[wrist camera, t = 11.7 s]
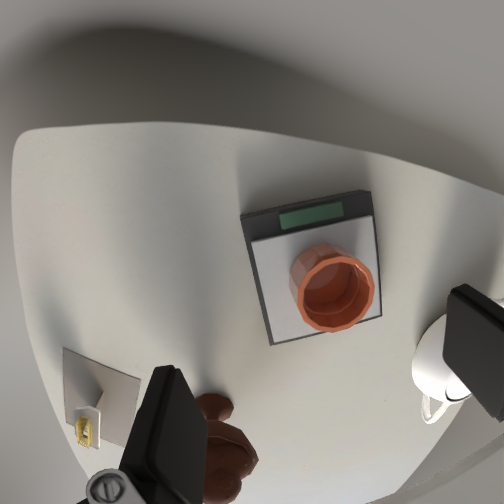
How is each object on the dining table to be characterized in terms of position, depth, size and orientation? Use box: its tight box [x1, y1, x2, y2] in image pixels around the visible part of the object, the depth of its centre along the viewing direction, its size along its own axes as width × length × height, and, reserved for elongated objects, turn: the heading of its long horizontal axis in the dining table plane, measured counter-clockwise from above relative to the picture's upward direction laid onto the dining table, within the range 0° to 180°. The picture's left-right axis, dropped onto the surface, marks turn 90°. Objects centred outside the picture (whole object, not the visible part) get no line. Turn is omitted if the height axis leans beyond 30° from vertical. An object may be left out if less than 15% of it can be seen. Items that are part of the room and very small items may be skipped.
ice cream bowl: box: [195, 394, 259, 504], centre depth 29 cm, size 11×11×15 cm
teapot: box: [412, 298, 504, 423], centre depth 30 cm, size 22×14×11 cm, turn 163°
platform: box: [63, 348, 141, 449], centre depth 33 cm, size 12×18×7 cm, turn 160°
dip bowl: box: [289, 243, 375, 333], centre depth 26 cm, size 7×7×5 cm
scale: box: [240, 190, 382, 346], centre depth 30 cm, size 14×13×3 cm
